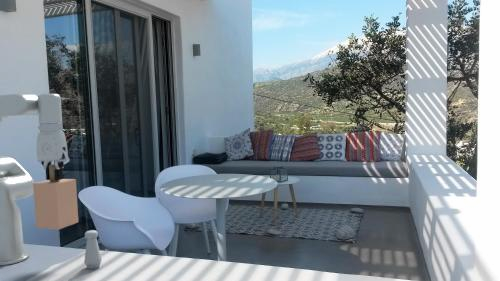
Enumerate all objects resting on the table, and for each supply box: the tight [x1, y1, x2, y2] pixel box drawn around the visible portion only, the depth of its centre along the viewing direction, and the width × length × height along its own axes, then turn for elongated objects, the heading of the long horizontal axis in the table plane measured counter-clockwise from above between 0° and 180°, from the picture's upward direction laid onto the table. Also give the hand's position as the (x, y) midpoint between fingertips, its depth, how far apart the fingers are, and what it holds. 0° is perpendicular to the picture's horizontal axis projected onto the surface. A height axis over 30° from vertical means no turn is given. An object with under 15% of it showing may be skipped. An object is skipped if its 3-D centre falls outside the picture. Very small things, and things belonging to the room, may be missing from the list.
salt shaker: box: [83, 229, 103, 270], centre depth 155 cm, size 6×6×13 cm
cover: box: [33, 163, 79, 230], centre depth 158 cm, size 10×10×22 cm
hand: (54, 179), depth 158 cm, fingers closed on cover, 3 cm apart
